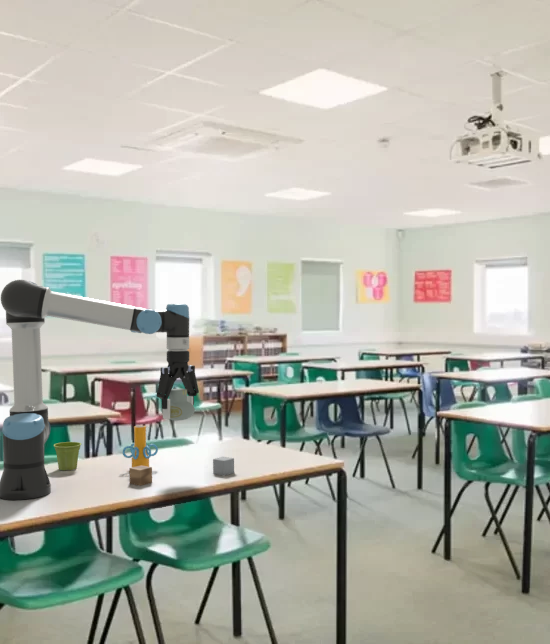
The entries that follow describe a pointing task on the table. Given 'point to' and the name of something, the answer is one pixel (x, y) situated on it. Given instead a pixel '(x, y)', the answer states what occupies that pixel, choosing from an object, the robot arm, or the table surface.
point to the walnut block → (140, 475)
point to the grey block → (223, 466)
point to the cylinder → (140, 448)
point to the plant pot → (67, 455)
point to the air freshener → (180, 405)
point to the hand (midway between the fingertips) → (178, 417)
